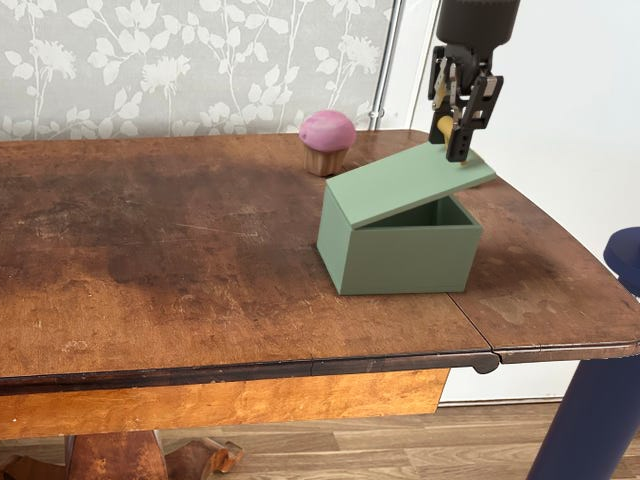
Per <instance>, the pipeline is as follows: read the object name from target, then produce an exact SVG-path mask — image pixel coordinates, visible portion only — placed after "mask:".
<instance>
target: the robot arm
mask: <svg viewBox="0 0 640 480" xmlns="http://www.w3.org/2000/svg"><path fill="white" fill-rule="evenodd" d="M520 5H521V0H441V5H440V11H439V15H438V19H437V20H438V21H437V24H436V25H437V26H436V30H435V37H436V38H437V40H438V41H440V42H441V43H443V45H435V46H434V47H433V49H432V55H431V64H430V72H429V73H430V74H429V81H428V89H427V100H428V101H429V102H430V101H432V103H431V110H432V111H433V115H432V120H431V122H430V123H431V124H430V128H429V134H428V137H427V140H428V141H427V142H430V143H431V144H445V138H444V134H443V133H442V132H441V131H440V130H439V129H438V126H437V124H438V121H439V120H440V119H441V118H442V117H444V116H450V117H451V118H453V128H452V131H451V135H450V139H449V144H448V148H447V153H446V159H447V161H448V162H450V163H453V162H464V161H465V160H466V159H467V156H468V152H469V148H471V143H472V140H473V135H474V132H475V130H476V131H477V130H486V129H487V127H488V125H489V123H490V120H491V117H492V114H493V112H494V110H495V107H496V104H497V101H498V98H499V97H500V93H501V91H502V89H503V86H504V83H505V78H504V75H494V74H493V72H492V69H493V59H494V51H495V50H496V49H497V48H498V47H500V46H503V45H506V44H507V43H508V42H510V40H511V39H512V35H513V32H514V27H515V23H516V20H517V16H518V11H519V8H520ZM462 97H468V99H462ZM464 108H465V109H464Z"/></svg>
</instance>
